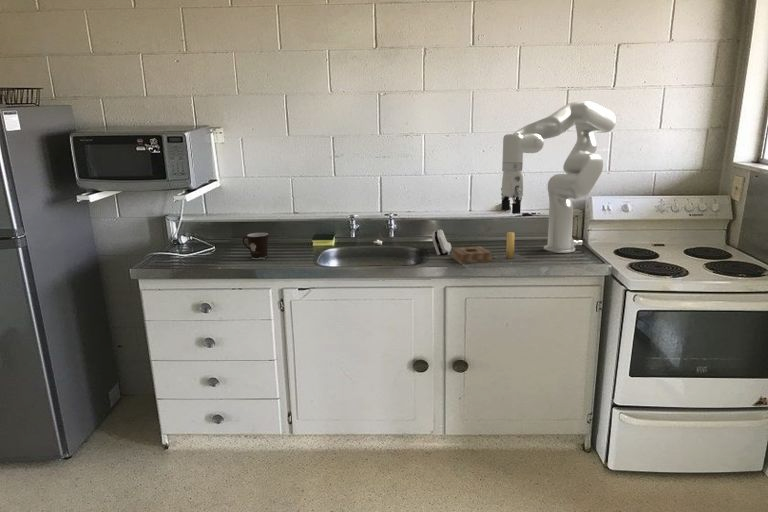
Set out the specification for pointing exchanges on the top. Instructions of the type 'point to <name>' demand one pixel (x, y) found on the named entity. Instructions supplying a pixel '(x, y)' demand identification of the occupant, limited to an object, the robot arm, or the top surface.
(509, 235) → the peg
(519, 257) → the mat
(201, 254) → the top surface
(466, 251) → the hole block
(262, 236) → the coffee mug
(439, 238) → the white plastic device case
